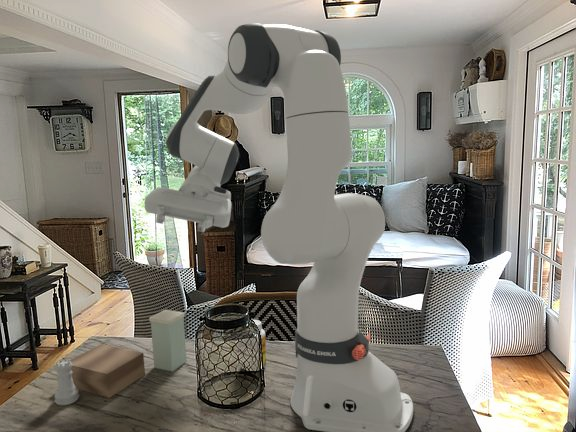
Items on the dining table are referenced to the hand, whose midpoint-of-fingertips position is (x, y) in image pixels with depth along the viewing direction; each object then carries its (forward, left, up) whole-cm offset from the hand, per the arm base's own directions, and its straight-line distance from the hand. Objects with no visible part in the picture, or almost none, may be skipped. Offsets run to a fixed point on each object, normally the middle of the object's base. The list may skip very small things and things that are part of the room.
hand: (179, 225), depth 106 cm
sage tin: (+1, +6, -31) cm, 31 cm away
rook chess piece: (+10, +26, -31) cm, 41 cm away
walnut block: (+9, +17, -31) cm, 36 cm away
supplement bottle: (-17, 0, -31) cm, 36 cm away
